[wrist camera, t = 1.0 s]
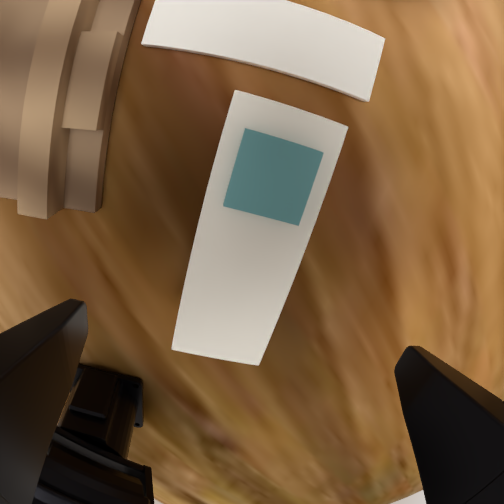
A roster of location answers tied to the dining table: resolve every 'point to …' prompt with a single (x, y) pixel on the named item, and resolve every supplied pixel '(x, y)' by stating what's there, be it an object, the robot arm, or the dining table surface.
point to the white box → (254, 226)
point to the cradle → (59, 99)
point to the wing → (271, 39)
